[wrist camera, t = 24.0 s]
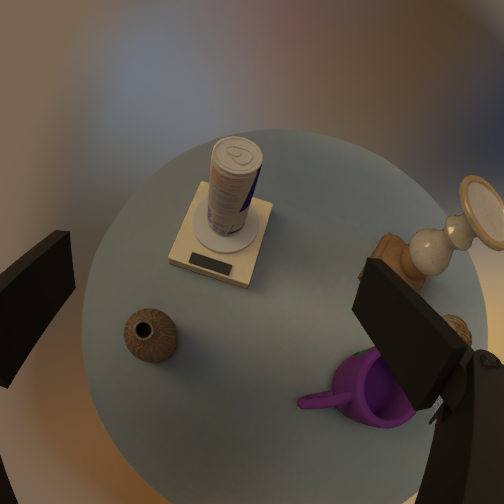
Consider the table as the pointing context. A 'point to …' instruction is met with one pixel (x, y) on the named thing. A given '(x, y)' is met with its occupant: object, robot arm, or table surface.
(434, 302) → the table surface
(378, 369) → the mug
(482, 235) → the candle holder
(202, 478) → the table surface
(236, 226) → the beverage can
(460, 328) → the seashell
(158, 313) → the vase
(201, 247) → the kitchen scale
